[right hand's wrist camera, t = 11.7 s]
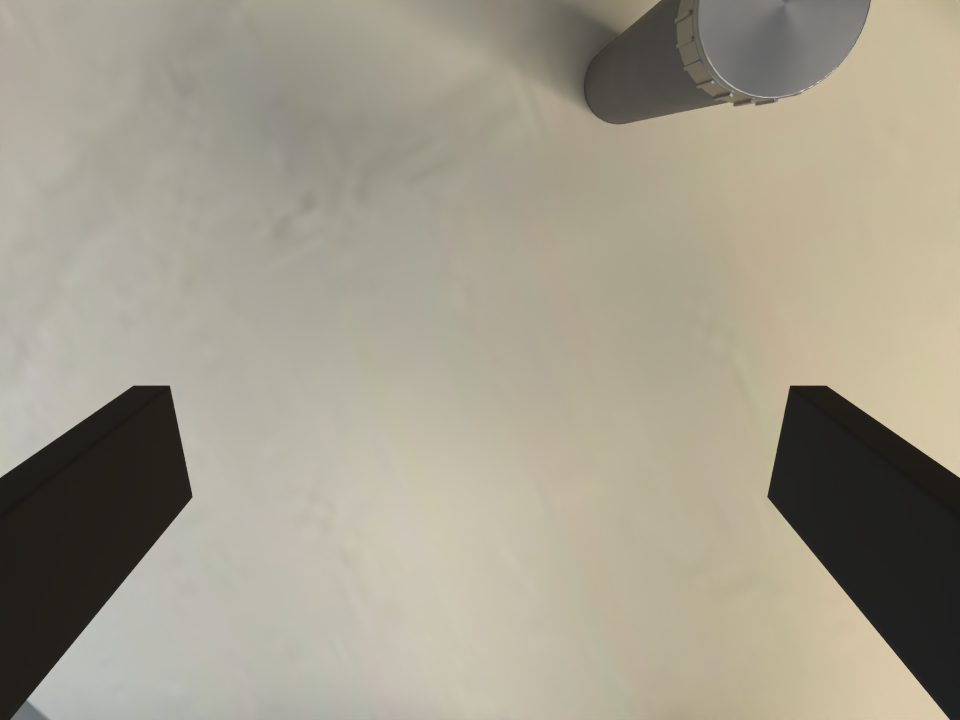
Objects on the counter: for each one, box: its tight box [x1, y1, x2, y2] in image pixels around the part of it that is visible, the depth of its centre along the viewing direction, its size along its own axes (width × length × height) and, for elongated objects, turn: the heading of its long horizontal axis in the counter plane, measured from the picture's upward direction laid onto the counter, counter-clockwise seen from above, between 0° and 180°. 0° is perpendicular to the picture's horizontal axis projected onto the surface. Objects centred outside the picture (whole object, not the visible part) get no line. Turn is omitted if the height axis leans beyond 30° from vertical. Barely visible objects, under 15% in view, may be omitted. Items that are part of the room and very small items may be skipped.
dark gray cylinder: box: [584, 0, 727, 124], centre depth 24 cm, size 4×4×18 cm
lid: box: [675, 0, 871, 106], centre depth 16 cm, size 5×5×2 cm
